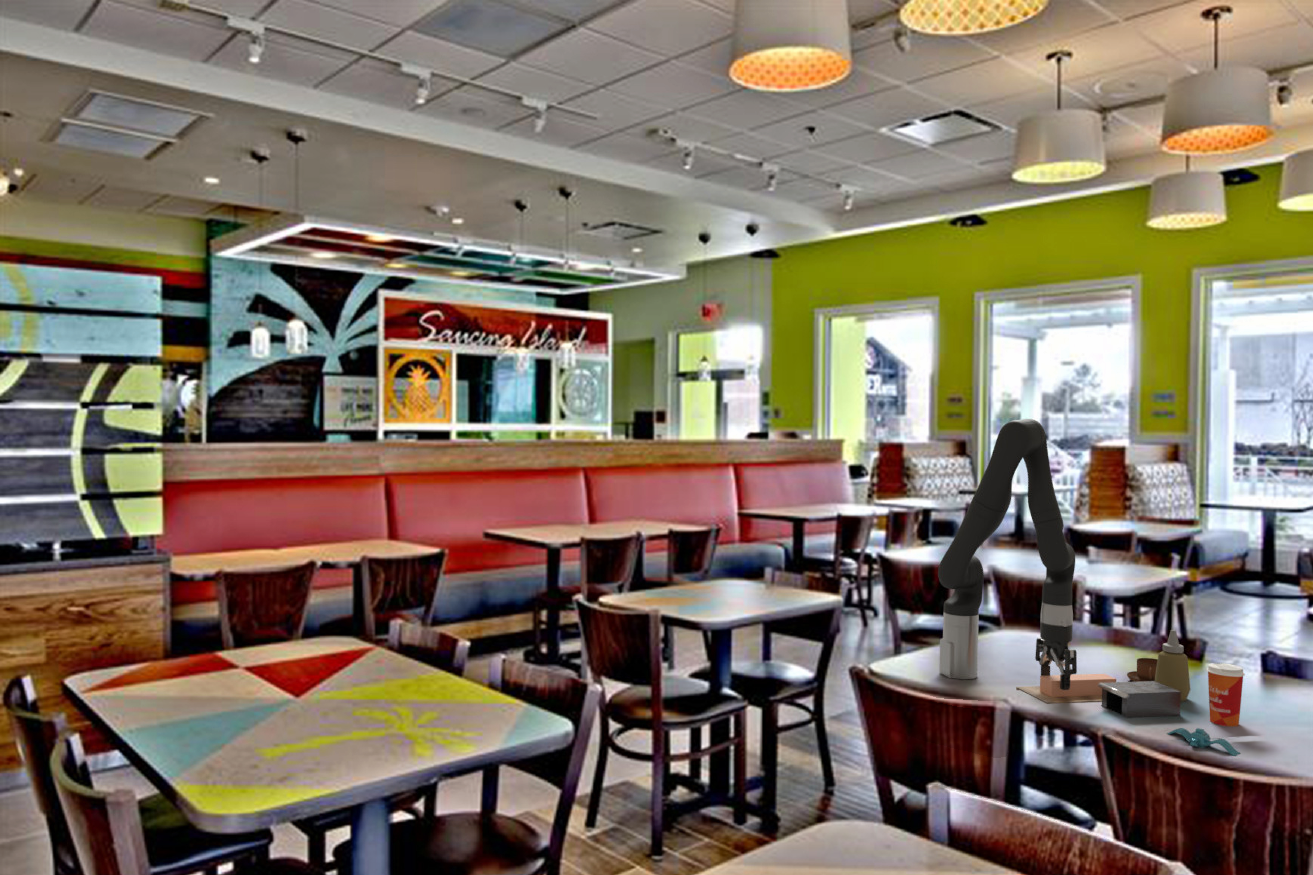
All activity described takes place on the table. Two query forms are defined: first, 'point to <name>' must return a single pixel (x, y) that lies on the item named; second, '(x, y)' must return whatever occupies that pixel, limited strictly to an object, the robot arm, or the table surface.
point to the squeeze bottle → (1173, 667)
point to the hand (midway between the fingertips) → (1054, 684)
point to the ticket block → (1074, 685)
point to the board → (1047, 699)
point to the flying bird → (1204, 740)
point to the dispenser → (1141, 699)
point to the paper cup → (1225, 693)
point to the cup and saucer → (1144, 670)
